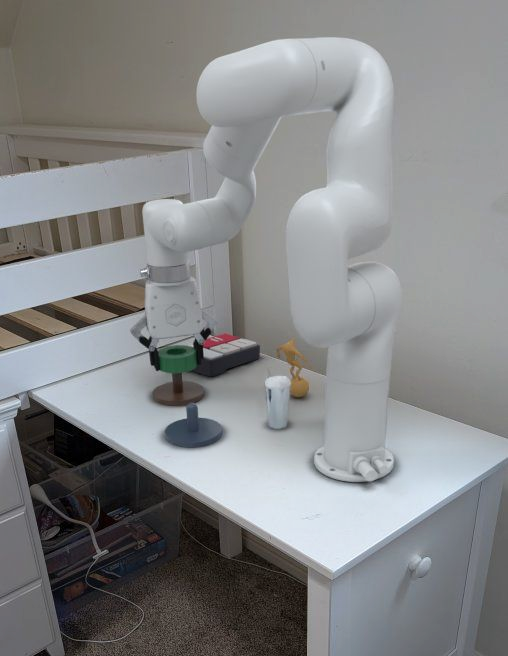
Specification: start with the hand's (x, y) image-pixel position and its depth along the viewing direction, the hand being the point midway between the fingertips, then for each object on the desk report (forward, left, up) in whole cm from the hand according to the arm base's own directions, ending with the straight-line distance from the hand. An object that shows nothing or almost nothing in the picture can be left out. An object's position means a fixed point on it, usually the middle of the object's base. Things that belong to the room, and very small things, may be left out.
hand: (177, 365), depth 143 cm
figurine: (-9, -21, -7) cm, 24 cm away
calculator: (+15, -12, -7) cm, 20 cm away
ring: (0, 0, 0) cm, 0 cm away
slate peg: (-18, +1, -6) cm, 19 cm away
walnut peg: (0, 0, -6) cm, 6 cm away
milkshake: (-19, -14, -7) cm, 24 cm away
